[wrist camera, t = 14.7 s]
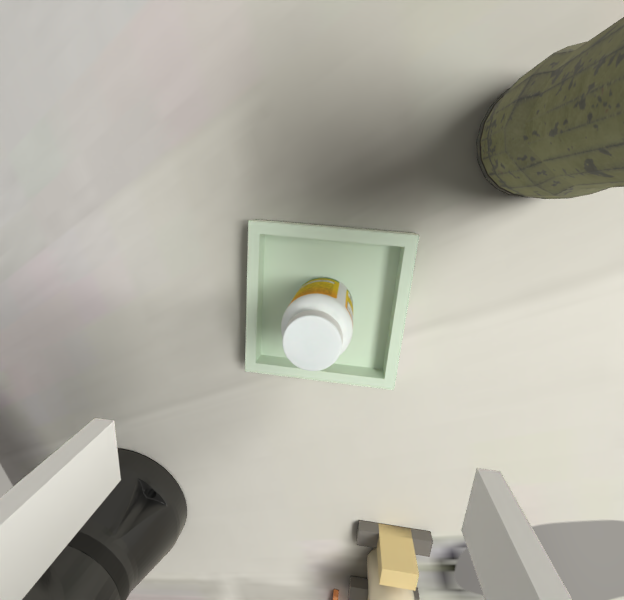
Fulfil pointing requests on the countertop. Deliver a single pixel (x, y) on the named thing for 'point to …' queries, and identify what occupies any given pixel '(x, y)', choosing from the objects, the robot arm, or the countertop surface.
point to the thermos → (560, 124)
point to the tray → (345, 268)
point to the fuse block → (391, 557)
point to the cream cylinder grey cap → (381, 595)
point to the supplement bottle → (318, 324)
